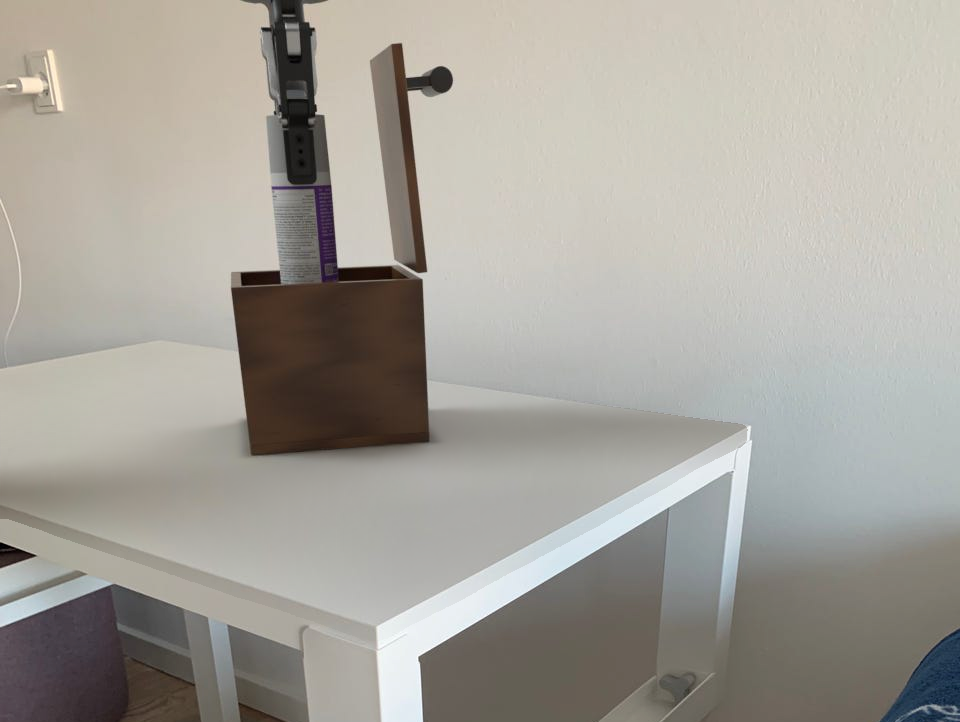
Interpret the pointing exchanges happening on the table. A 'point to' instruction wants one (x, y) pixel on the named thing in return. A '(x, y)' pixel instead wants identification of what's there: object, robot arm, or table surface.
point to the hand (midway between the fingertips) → (300, 182)
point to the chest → (332, 359)
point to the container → (303, 212)
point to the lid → (402, 148)
